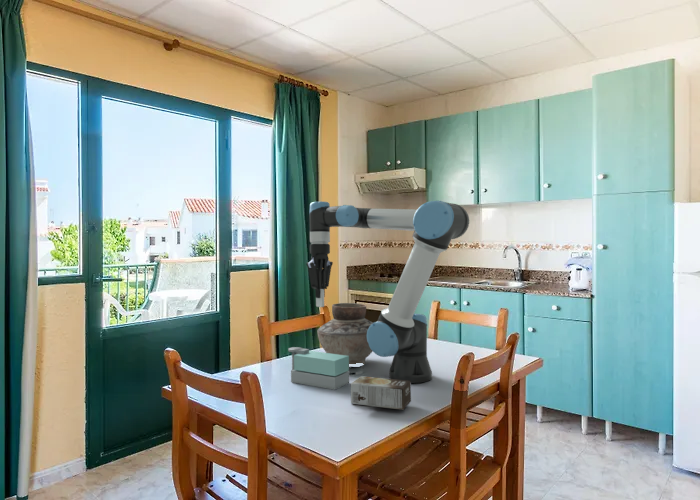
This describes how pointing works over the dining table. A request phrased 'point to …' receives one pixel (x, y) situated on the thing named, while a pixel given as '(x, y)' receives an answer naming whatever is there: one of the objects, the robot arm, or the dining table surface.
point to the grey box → (318, 378)
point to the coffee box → (381, 392)
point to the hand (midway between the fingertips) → (320, 306)
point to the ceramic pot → (347, 332)
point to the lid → (319, 362)
